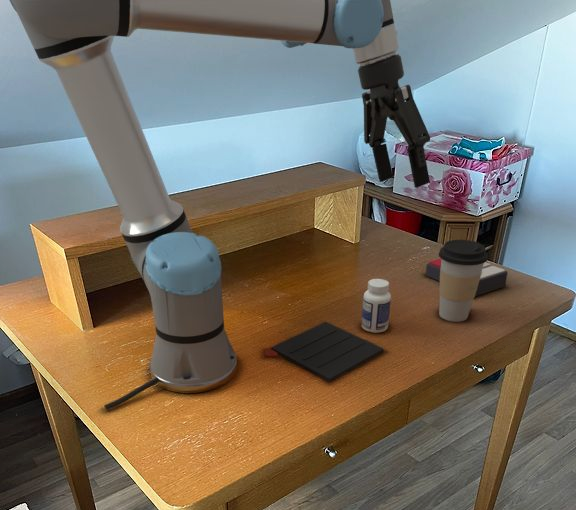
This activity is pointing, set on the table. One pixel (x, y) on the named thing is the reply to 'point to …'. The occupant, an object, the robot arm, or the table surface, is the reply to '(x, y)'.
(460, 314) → the coffee cup
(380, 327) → the pill bottle
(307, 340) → the plate
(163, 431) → the table surface
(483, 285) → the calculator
